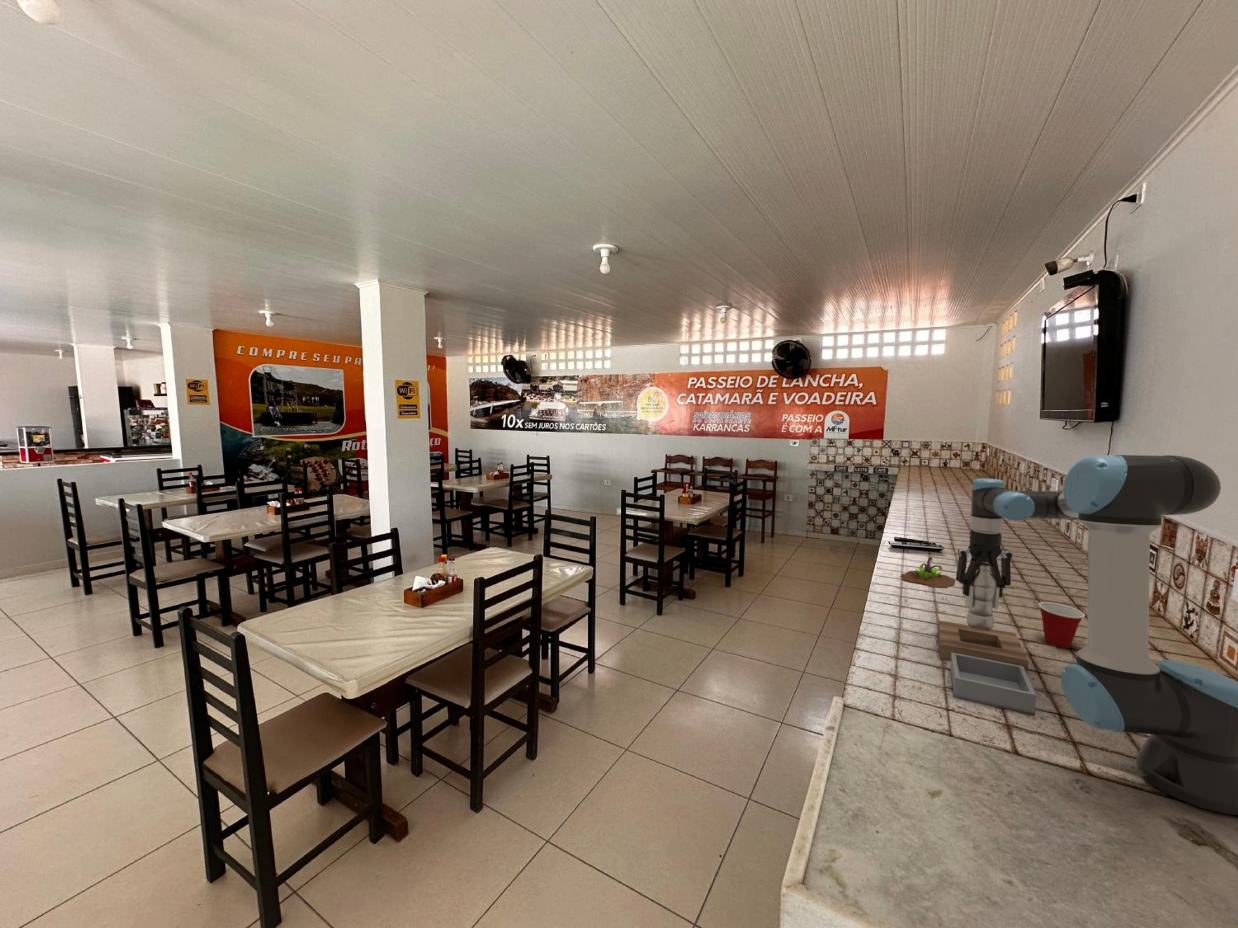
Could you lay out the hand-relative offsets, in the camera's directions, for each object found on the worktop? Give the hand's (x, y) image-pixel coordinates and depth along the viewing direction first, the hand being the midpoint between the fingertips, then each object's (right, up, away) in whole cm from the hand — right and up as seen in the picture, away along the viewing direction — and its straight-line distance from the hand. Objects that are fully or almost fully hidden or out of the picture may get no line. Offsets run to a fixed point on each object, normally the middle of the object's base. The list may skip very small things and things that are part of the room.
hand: (981, 606), depth 149 cm
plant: (+25, -9, +65) cm, 70 cm away
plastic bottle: (0, -7, +1) cm, 7 cm away
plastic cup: (+28, -14, +6) cm, 32 cm away
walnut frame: (0, -14, +1) cm, 14 cm away
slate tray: (-12, -16, -19) cm, 28 cm away
